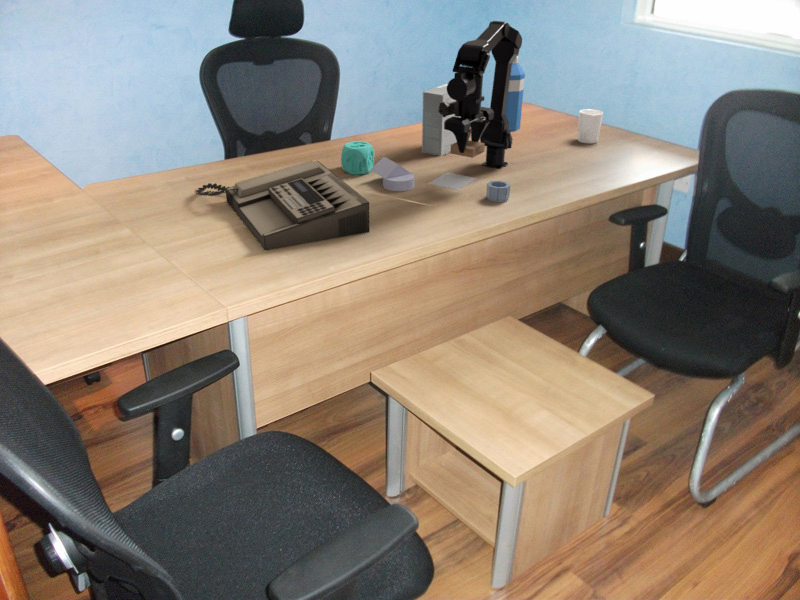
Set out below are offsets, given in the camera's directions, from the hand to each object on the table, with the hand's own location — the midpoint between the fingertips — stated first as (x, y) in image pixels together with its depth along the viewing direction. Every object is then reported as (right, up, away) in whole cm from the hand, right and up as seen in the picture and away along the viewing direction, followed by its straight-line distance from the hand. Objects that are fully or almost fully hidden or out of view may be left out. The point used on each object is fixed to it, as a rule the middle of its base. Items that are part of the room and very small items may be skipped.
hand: (467, 149), depth 209 cm
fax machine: (-52, -19, -12) cm, 57 cm away
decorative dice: (-32, -3, +18) cm, 36 cm away
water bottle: (+20, +20, +62) cm, 68 cm away
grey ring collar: (+8, -14, -3) cm, 17 cm away
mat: (-4, -8, +9) cm, 13 cm away
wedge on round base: (-20, -9, +7) cm, 23 cm away
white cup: (+46, +13, +49) cm, 68 cm away
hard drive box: (-5, +7, +38) cm, 38 cm away
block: (0, -1, 0) cm, 1 cm away
